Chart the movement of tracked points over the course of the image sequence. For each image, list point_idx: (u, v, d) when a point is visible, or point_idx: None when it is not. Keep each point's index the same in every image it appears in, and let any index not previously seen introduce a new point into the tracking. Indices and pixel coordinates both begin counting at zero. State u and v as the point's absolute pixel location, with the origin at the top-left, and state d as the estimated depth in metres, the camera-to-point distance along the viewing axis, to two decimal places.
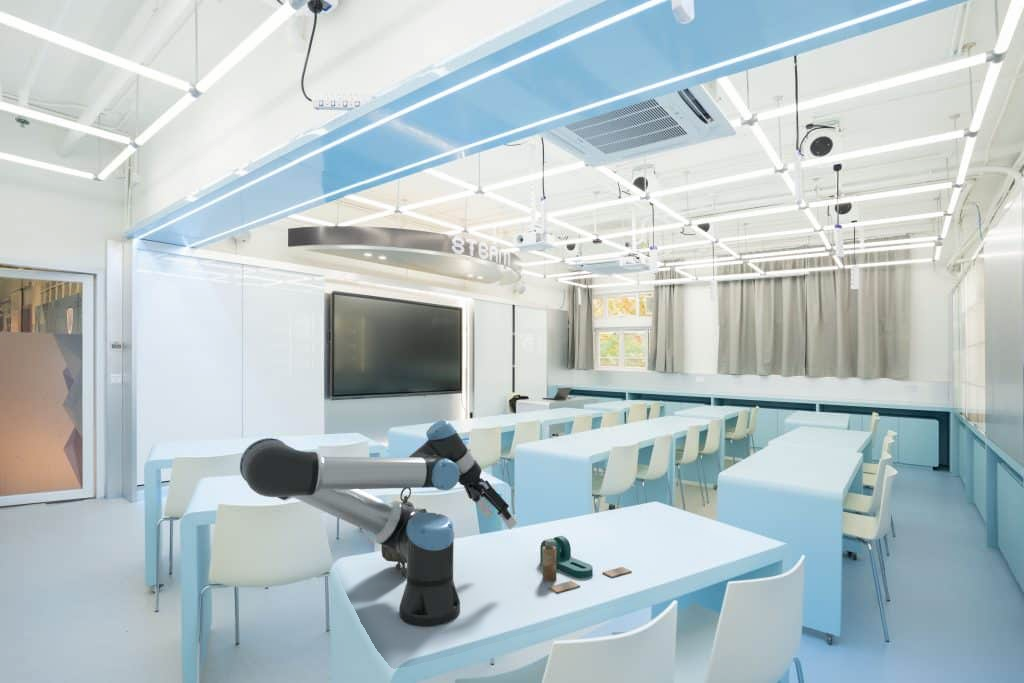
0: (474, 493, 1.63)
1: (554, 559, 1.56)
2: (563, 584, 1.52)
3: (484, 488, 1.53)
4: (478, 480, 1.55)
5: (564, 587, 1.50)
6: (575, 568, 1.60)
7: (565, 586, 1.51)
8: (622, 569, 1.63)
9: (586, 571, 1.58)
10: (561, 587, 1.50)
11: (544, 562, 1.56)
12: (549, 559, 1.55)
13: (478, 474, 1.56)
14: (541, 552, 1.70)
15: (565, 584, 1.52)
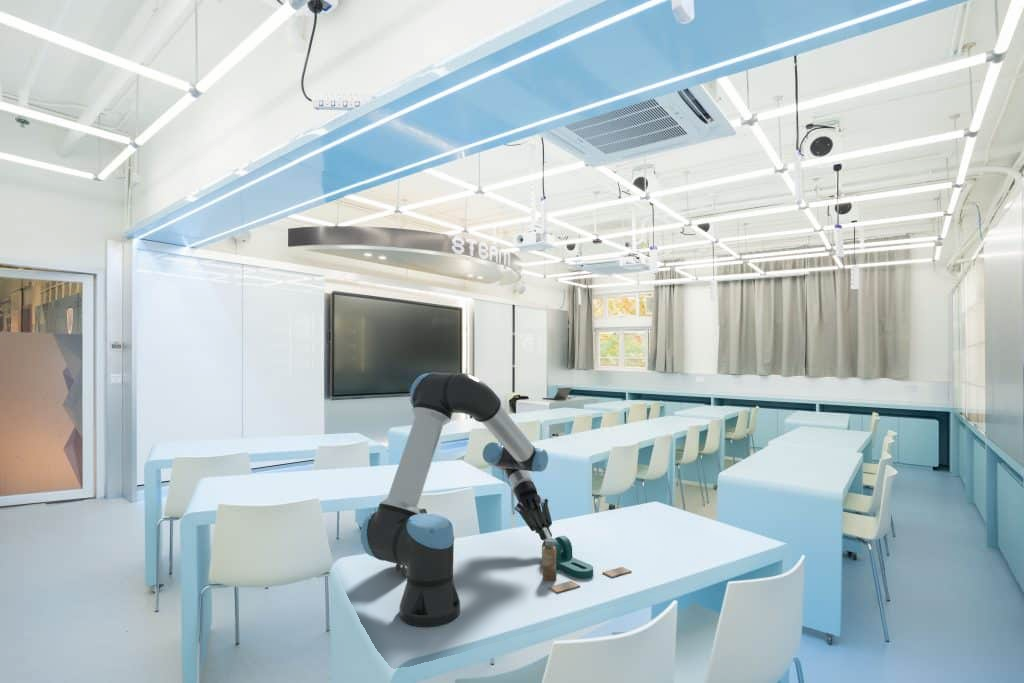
0: None
1: (554, 559, 1.56)
2: (563, 584, 1.52)
3: None
4: None
5: (564, 587, 1.50)
6: (575, 568, 1.59)
7: (565, 586, 1.51)
8: (622, 569, 1.63)
9: (586, 571, 1.57)
10: (561, 587, 1.50)
11: (544, 562, 1.56)
12: (549, 559, 1.55)
13: None
14: None
15: (565, 584, 1.52)
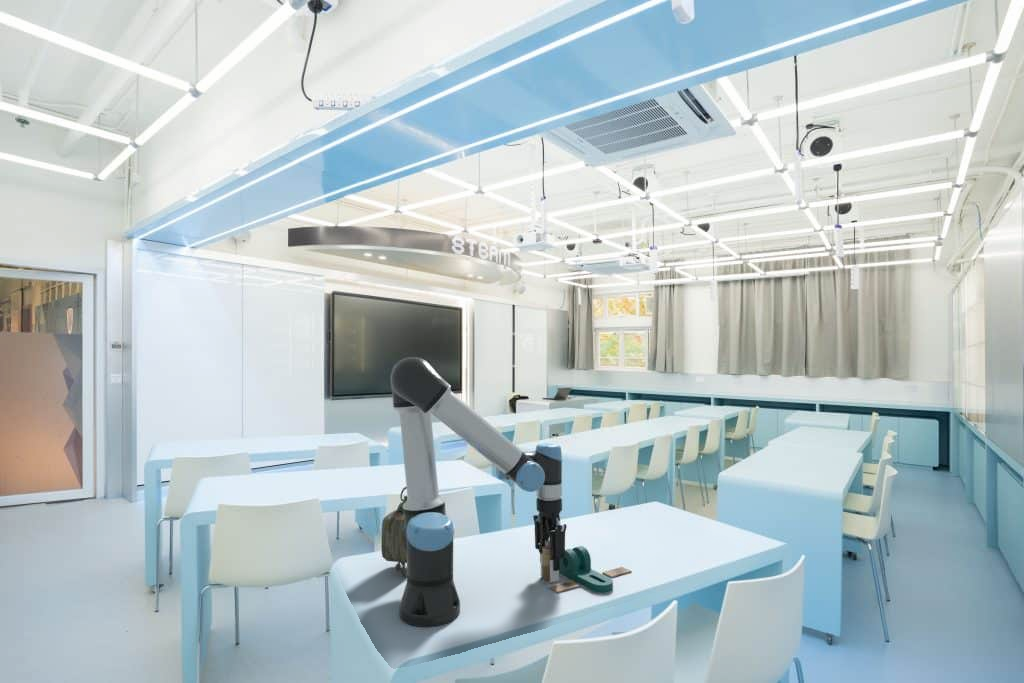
0: (543, 535, 1.58)
1: None
2: (563, 584, 1.52)
3: (560, 530, 1.52)
4: (557, 515, 1.55)
5: (564, 587, 1.50)
6: (593, 581, 1.50)
7: (565, 586, 1.51)
8: (622, 569, 1.63)
9: (605, 585, 1.48)
10: (561, 587, 1.50)
11: (543, 562, 1.56)
12: (548, 559, 1.55)
13: (559, 510, 1.55)
14: None
15: (565, 584, 1.52)
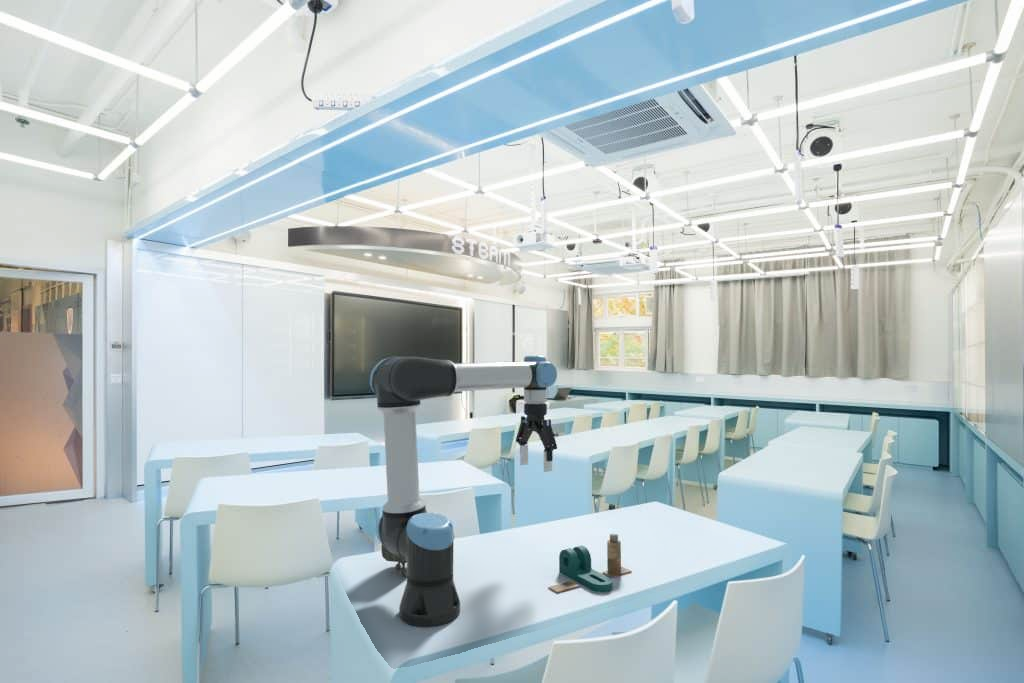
0: (526, 434, 1.80)
1: (619, 552, 1.60)
2: (563, 584, 1.52)
3: (545, 422, 1.71)
4: (542, 417, 1.74)
5: (564, 587, 1.50)
6: (593, 581, 1.50)
7: (565, 586, 1.51)
8: (622, 569, 1.63)
9: (604, 585, 1.48)
10: (561, 587, 1.50)
11: (609, 555, 1.60)
12: (614, 553, 1.59)
13: (544, 412, 1.75)
14: (560, 562, 1.62)
15: (565, 584, 1.52)
